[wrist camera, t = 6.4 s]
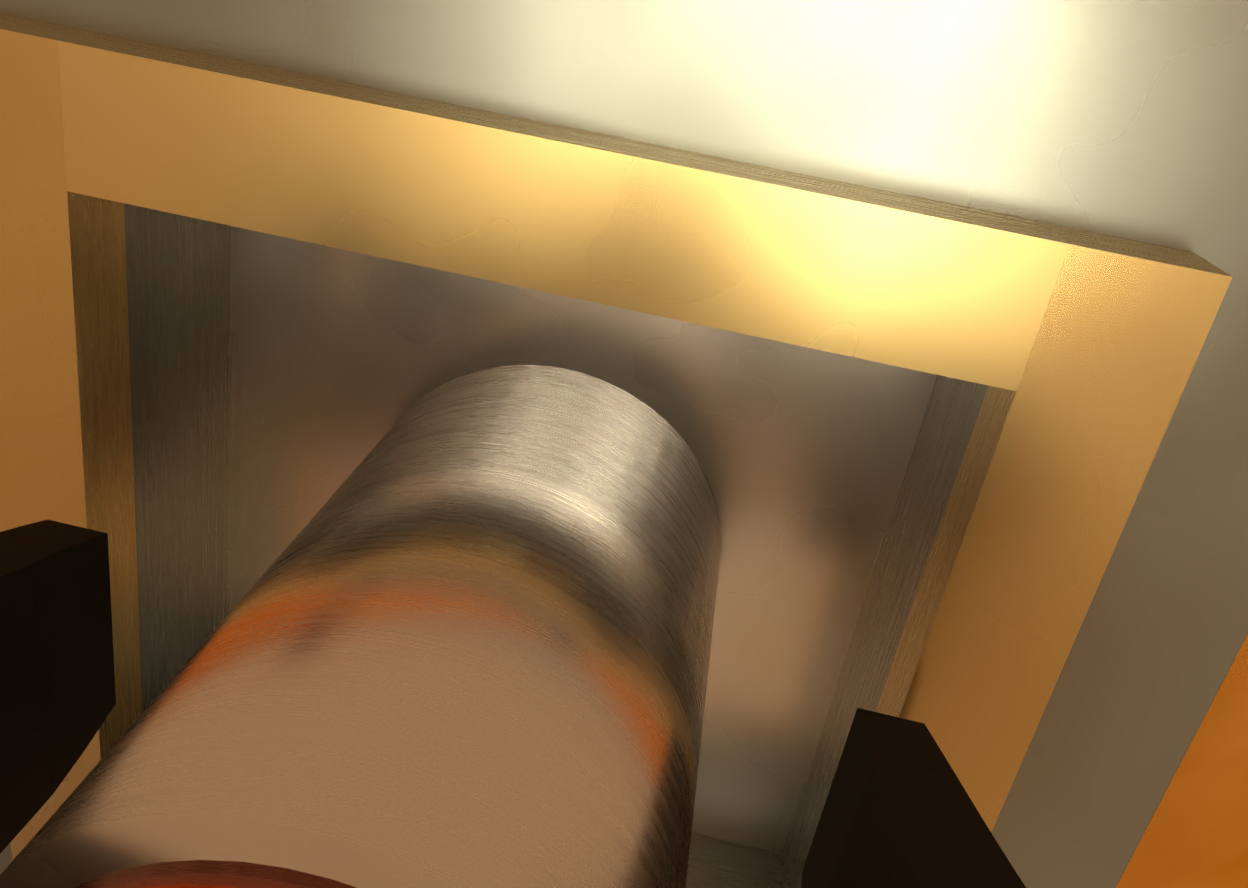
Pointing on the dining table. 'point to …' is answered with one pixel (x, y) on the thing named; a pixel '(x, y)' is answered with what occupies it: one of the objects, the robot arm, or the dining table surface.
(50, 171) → the metal base plate
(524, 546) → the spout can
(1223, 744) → the dining table surface
